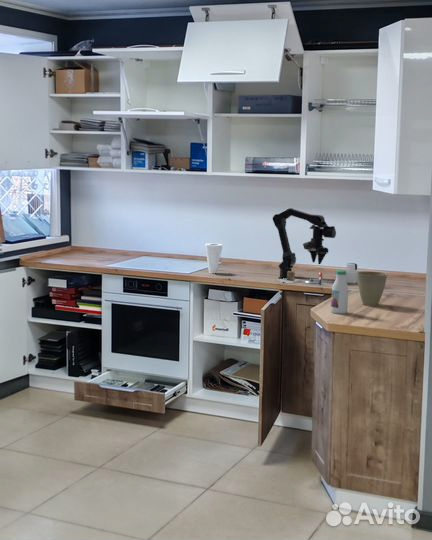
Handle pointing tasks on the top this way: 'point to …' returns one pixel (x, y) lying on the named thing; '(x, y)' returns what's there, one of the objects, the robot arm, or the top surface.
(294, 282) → the tray
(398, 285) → the top surface
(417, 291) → the top surface
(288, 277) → the block
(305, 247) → the robot arm
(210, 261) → the cup
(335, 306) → the milk bottle
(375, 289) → the plant pot
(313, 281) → the crank
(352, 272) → the medicine bottle
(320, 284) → the crank plate
